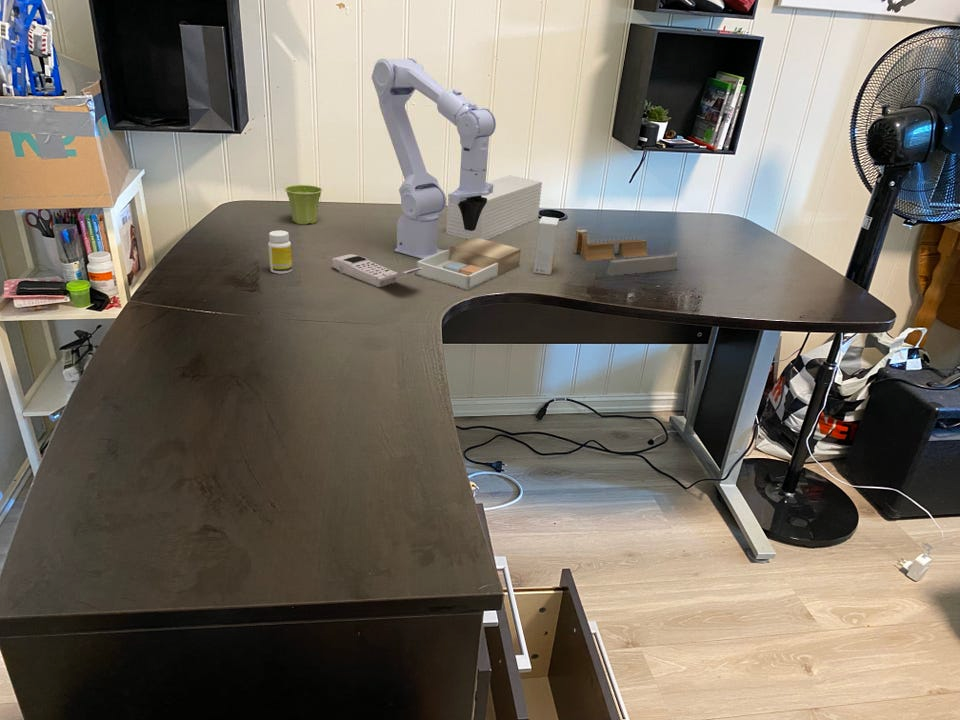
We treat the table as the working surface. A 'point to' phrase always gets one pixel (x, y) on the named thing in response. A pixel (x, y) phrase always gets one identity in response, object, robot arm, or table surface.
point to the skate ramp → (623, 255)
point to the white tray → (435, 271)
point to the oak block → (485, 254)
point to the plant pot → (304, 203)
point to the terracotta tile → (470, 270)
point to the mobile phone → (367, 270)
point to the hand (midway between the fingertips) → (469, 229)
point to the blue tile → (454, 266)
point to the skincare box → (546, 245)
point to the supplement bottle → (280, 252)
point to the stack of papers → (499, 208)
